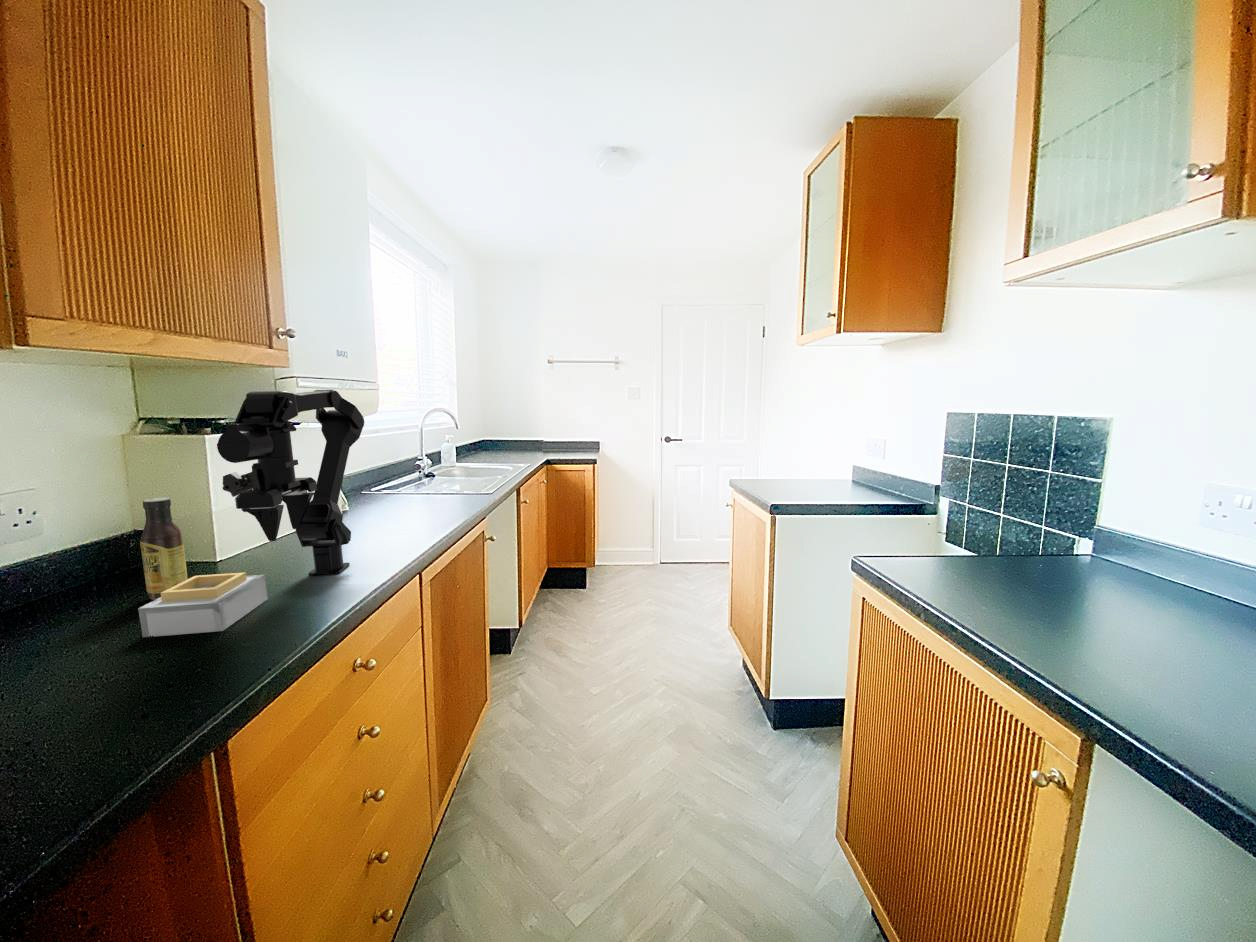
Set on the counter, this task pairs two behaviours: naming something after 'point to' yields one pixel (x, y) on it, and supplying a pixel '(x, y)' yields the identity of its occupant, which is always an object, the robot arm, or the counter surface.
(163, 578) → the sauce bottle
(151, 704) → the counter surface
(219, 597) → the square frame box
